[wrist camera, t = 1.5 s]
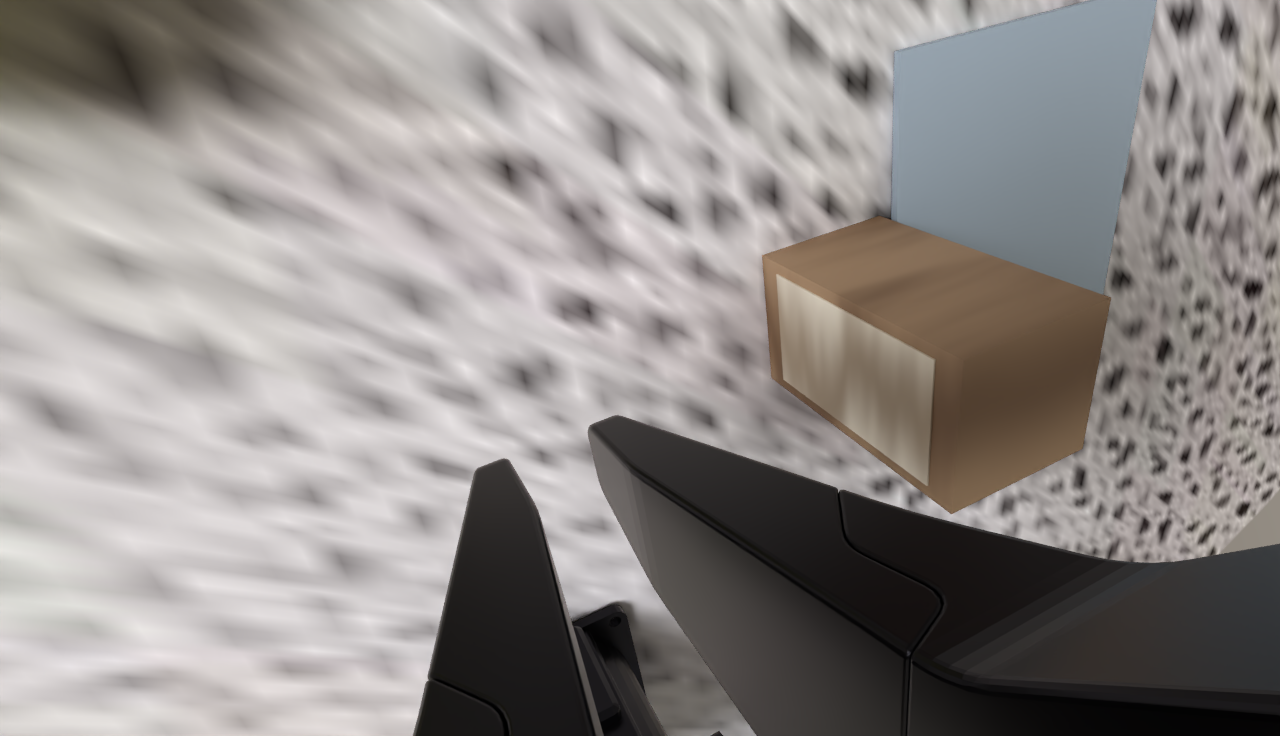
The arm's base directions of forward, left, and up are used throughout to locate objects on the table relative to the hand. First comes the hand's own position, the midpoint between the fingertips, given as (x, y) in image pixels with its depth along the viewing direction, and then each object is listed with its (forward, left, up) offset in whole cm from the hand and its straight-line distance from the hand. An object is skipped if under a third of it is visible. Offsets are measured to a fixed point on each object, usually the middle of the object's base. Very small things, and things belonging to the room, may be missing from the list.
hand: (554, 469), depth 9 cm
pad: (-7, -23, -13) cm, 27 cm away
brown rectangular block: (-7, -14, -13) cm, 20 cm away
